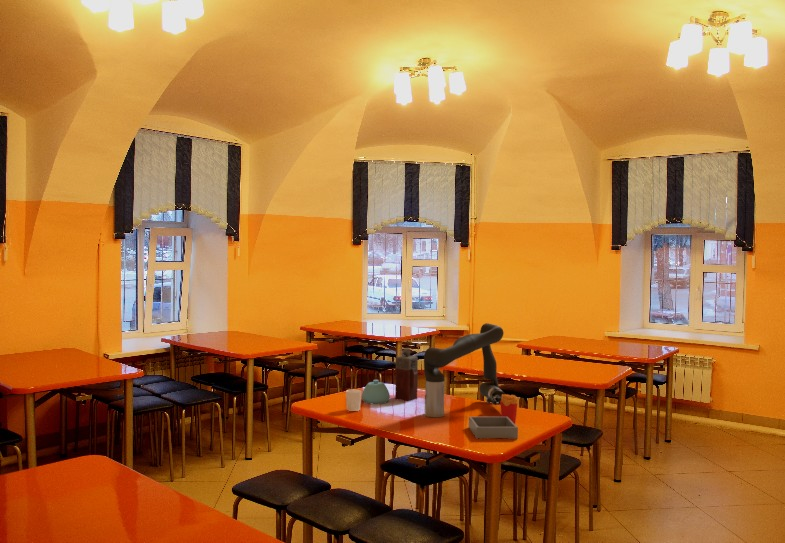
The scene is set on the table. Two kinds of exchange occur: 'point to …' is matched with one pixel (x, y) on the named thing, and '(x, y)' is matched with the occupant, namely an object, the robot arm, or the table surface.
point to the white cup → (353, 399)
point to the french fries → (509, 407)
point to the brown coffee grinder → (406, 376)
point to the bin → (493, 427)
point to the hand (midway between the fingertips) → (504, 403)
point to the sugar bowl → (375, 393)
